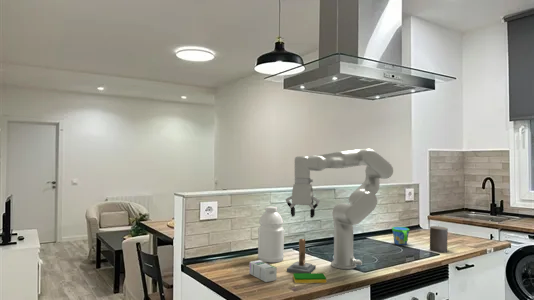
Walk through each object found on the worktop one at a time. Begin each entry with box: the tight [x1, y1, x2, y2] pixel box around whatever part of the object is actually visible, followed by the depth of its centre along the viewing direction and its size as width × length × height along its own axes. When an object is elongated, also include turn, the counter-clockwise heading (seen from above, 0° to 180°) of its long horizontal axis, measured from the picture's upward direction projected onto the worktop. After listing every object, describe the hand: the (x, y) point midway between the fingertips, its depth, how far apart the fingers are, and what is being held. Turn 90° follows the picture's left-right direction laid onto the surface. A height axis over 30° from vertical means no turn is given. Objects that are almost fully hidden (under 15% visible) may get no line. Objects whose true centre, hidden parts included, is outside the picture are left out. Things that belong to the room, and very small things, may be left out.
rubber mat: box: [286, 264, 317, 274], centre depth 176 cm, size 11×11×2 cm
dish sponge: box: [292, 272, 327, 284], centre depth 161 cm, size 7×14×2 cm, turn 93°
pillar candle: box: [429, 225, 449, 253], centre depth 217 cm, size 10×10×15 cm
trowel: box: [291, 238, 313, 269], centre depth 177 cm, size 8×6×13 cm
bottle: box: [257, 205, 285, 264], centre depth 195 cm, size 14×14×28 cm
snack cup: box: [391, 226, 410, 246], centre depth 233 cm, size 16×10×10 cm
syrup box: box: [249, 259, 278, 283], centre depth 165 cm, size 6×6×14 cm
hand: (302, 216), depth 176 cm, fingers open, 9 cm apart
